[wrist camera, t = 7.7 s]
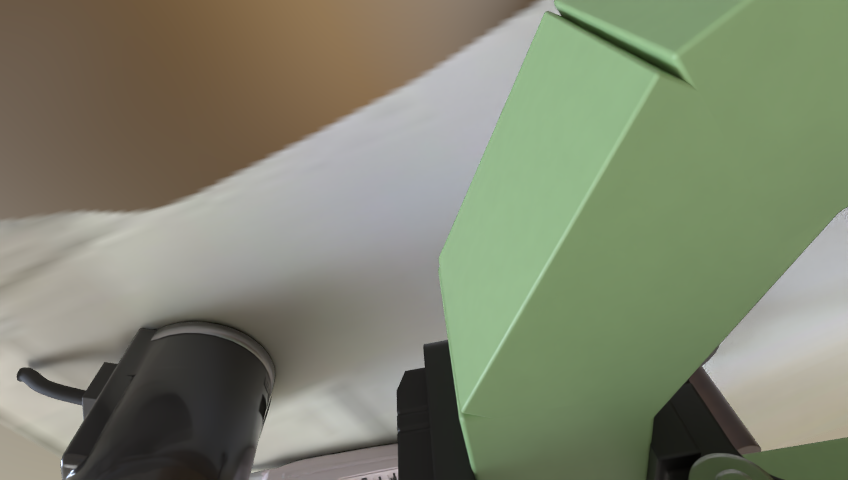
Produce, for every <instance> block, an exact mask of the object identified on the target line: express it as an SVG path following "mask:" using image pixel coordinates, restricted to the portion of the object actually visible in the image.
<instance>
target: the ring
mask: <svg viewBox="0 0 848 480" xmlns="http://www.w3.org/2000/svg"><path fill="white" fill-rule="evenodd" d="M554 4H555V6H556V8H557V10H558V11H559V13H560V14H561V16H559V15H557V14H554V13H552V12H549V11H546V12H545V13H544V15H543V18H542V20H541V22H540V25H539V27H538V29H537V32H536V34H535V36H534V39H533V41H532V43H531V46H530V48H529V50H528V52H527V55H526V57H525V59H524V62H523V64H522V66H521V69H520V71H519V73H518V76H517V78H516V80H515V83H514V85H513V87H512V90H511V92H510V94H509V96H508V99H507V101H506V103H505V106H504V108H503V110H502V113H501V115H500V117H499V120H498V122H497V124H496V127H495V129H494V131H493V133H492V136H491V138H490V140H489V143H488V145H487V147H486V150H485V152H484V154H483V157H482V159H481V161H480V164H479V166H478V168H477V171H476V173H475V175H474V177H473V180H472V182H471V184H470V187H469V189H468V191H467V194H466V196H465V198H464V201H463V203H462V205H461V208H460V210H459V212H458V215H457V217H456V219H455V221H454V224H453V226H452V228H451V231H450V233H449V235H448V238H447V240H446V242H445V245H444V247H443V249H442V252H441V254H440V256H439V265H440V267H439V269H438V273H439V280H440V287H441V294H442V301H443V308H444V315H445V322H446V329H447V336H448V343H449V350H450V357H451V364H452V371H453V378H454V385H455V392H456V399H457V406H458V413H459V420H460V424H461V428H462V432H463V436H464V440H465V444H466V448H467V452H468V456H469V460H470V464H471V469H472V471H473V472H474V475H475V479H476V480H646V479H647V470H648V461H649V452H650V444H651V441H652V432H653V422H654V416H655V415H656V414H657V413H658V412H659V411H660V410H661V409H662V408H663V406H664V405H665V404H666V403H667V402H668V401H669V400H670V399H671V398H672V396H673V395H674V394H675V393H676V392H677V391H678V390H679V389H680V388H681V386H682V385H683V384H684V383H685V382H686V381H687V380H688V379H689V378H690V377H691V375H692V374H693V373H694V372H695V371H696V370H697V369H698V368H699V367H700V365H701V364H702V363H703V362H704V361H705V360H706V359H707V358H708V357H709V355H710V354H711V353H712V352H713V351H714V350H715V349H716V348H717V347H718V346H719V344H720V343H721V342H722V341H723V340H724V339H725V338H726V337H727V336H728V334H729V333H730V332H731V331H732V330H733V329H734V328H735V327H736V326H737V324H738V323H739V322H740V321H741V320H742V319H743V318H744V317H745V316H746V314H747V313H748V312H749V311H750V310H751V309H752V308H753V307H754V306H755V305H756V303H757V302H758V301H759V300H760V299H761V298H762V297H763V296H764V295H765V293H766V292H767V291H768V290H769V289H770V288H771V287H772V286H773V285H774V283H775V282H776V281H777V280H778V279H779V278H780V277H781V276H782V275H783V274H784V272H785V271H786V270H787V269H788V268H789V267H790V266H791V265H792V264H793V262H794V261H795V260H796V259H797V258H798V257H799V256H800V255H801V254H802V252H803V251H804V250H805V249H806V248H807V247H808V246H809V245H810V244H811V243H812V241H813V240H814V239H815V238H816V237H817V236H818V235H819V234H820V233H821V231H822V230H823V229H824V228H825V227H826V226H827V225H828V224H829V223H830V221H831V220H832V219H833V218H834V217H835V216H836V215H837V214H838V213H839V212H840V211H842V210H843V209H845V208H847V207H848V0H555V1H554ZM742 456H743V457H744V458H745V459H747V460H749V461H751V462H753V463H755V464H756V465H758V466H759V467H761V468H762V469H763V470H765V471H766V472H767V473H768V474H770V475H773V476H775V477H778V478H781V479H784V480H848V437H847V438H841V439H835V440H829V441H823V442H817V443H811V444H805V445H799V446H793V447H787V448H781V449H775V450H769V451H763V452H757V453H750V454H744V455H742Z"/></svg>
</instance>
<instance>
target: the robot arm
mask: <svg viewBox="0 0 848 480" xmlns="http://www.w3.org/2000/svg"><path fill="white" fill-rule="evenodd" d="M423 349H424V361H425V368H420V369H415V370H409V371H405V373H404V375H403V378H402V380H401V382H400V385H399V387H398V389H397V414H398V416H397V430H398V480H476V479H475V475H474V472H473V471H472V469H471V464H470V460H469V456H468V452H467V448H466V444H465V440H464V436H463V432H462V428H461V424H460V420H459V413H458V406H457V399H456V392H455V385H454V378H453V371H452V364H451V357H450V350H449V343H448V340H445V341H440V342H434V343H429V344H424V346H423ZM17 380H18V381H23V382H24V383H25V384H27V385H28V386H29V387H30V388H31V389H33V390H34V391H36V392H38V393H41V394H43V395H46V396H48V397H51V398H54V399H58V400H62V401H66V402H70V403H74V404H78V405H82V406H83V419H84V421H83V423H82V424H81V426H80V428H79V429H78V431H77V432H76V434H75V436H74V437H73V439H72V441H71V442H70V444H69V446H68V447H67V449H66V451H65V452H64V454H63V456H62V459H61V464H60V466H61V474H62V480H249V478H250V474H251V469H252V465H253V461H254V457H255V453H256V449H257V445H258V441H259V438H260V435H261V432H262V428H263V425H264V422H265V419H266V416H267V413H268V410H269V406H270V402H271V399H270V402H269V398H270V396H271V393H272V389H273V385H274V380H275V369H274V365H273V362H272V360H271V358H270V356H269V355H268V353H267V352H266V351H265V350H264V349H263V348H262V346H260V345H259V344H258V343H257V342H256V341H254V340H253V339H252V338H250V337H249V336H247V335H245V334H243V333H241V332H239V331H237V330H235V329H232V328H229V327H226V326H223V325H219V324H214V323H208V322H182V323H176V324H172V325H168V326H165V327H163V328H160V329H158V330H151V329H145V328H140V329H139V330H138V332H137V333H136V335H135V337H134V338H133V340H132V342H131V343H130V345H129V347H128V348H127V350H126V352H125V353H124V355H123V357H122V358H121V360H120V361H119V363H118V364H114V363H107V362H104V364H103V365H102V367H101V368H100V370H99V372H98V373H97V375H96V376H95V378H94V379H93V381H92V382H91V384H90V386H89V387H88V389H87V390H86V391H85V390H81V389H77V388H72V387H68V386H64V385H61V384H57V383H54V382H52V381H49V380H47V379H46V378H44V377H43V376H42V375H41V374H39V373H38V372H37V371H35V370H33V369H31V368H21V369H20V370H19V371H18V373H17ZM271 398H272V396H271ZM268 402H269V406H268ZM267 406H268V409H267ZM266 409H267V412H266ZM265 412H266V415H265ZM264 416H265V418H264ZM263 420H264V421H263ZM262 424H263V425H262ZM646 480H784V479H781V478H778V477H775V476H773V475H770V474H768V473H767V472H766V471H765V470H763V469H762V468H761V467H759V466H758V465H756V464H755V463H753V462H751V461H749V460H747V459H745V458H744V457H743V456H742V455H741V454H740V453H739V452H738V451H737V450H736V448H735V447H734V446H733V445H732V443H731V442H730V440H729V439H728V437H727V436H726V434H725V432H724V431H723V429H722V428H721V426H720V425H719V423H718V422H717V420H716V419H715V417H714V416H713V414H712V413H711V411H710V410H709V408H708V407H707V405H706V404H705V402H704V401H703V399H702V398H701V396H700V395H699V393H698V392H697V390H696V389H695V387H694V386H693V384H692V383H690V381H689V379H688V380H687V381H686V382H685V383H684V384H683V385H682V386H681V388H680V389H679V390H678V391H677V392H676V393H675V394H674V395H673V396H672V398H671V399H670V400H669V401H668V402H667V403H666V404H665V405H664V406H663V408H662V409H661V410H660V411H659V412H658V413H657V414H656V415H655V416H654V422H653V432H652V441H651V444H650V452H649V461H648V470H647V479H646Z"/></svg>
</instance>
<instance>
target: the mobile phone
mask: <svg viewBox="0 0 848 480" xmlns="http://www.w3.org/2000/svg"><path fill="white" fill-rule="evenodd" d="M249 480H398V443H397V444H391V445H384V446H377V447H371V448H365V449H359V450H354V451H348V452H342V453H337V454H331V455H325V456H320V457H314V458H308V459H304V460H300V461H296V462H292V463H289V464H286V465H284V466H281V467H278V468H272V469H266V470H263V471H259V472H254V473H251V474H250V478H249Z"/></svg>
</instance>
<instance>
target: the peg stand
mask: <svg viewBox="0 0 848 480" xmlns="http://www.w3.org/2000/svg"><path fill="white" fill-rule="evenodd" d="M719 345H720V344H719ZM718 347H719V346H718ZM718 347H717V348H716V349H715V350H714V351H713V352H712V353H711V354H710V355H709V357H708V358H707V359H706V360H705V361H704V362H703V363H702V364H701V365H700V367H699V368H698V369H697V370H696V371H695V372H694V373H693V374H692V375H691V377H690V378H689V381H690V383H692V384H693V386H694V387H695V389H696V390H697V392H698V393H699V395H700V396H701V398H702V399H703V401H704V402H705V404H706V405H707V407H708V408H709V410H710V411H711V413H712V414H713V416H714V417H715V419H716V420H717V422H718V423H719V425H720V426H721V428H722V429H723V431H724V432H725V434H726V436H727V437H728V439H729V440H730V442H731V443H732V445H733V446H734V447H735V448H736V450H737V451H738V452H739V453H740V454H741V455H744V454H750V453H757V452H761V448H760V446H759V445H758V443H757V442H756V441H755V439H754V438H753V436H752V435H751V434H750V432H749V431H748V430H747V428H746V427H745V425H744V424H743V423H742V421H741V420H740V418H739V417H738V416H737V414H736V413H735V411H734V410H733V409H732V407H731V406H730V405H729V403H728V402H727V400H726V399H725V398H724V396H723V395H722V393H721V392H720V391H719V389H718V388H717V387H716V385H715V384H714V382H713V381H712V380H711V378H710V377H709V375H708V374H707V373H706V371H705V370H704V369H703V367H702V365H704V364H705V363H706V362H707V361H708V360H709V359H710V358H711V357H712V356H713V355H714V354H715V352H716V351H717V349H718Z"/></svg>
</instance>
